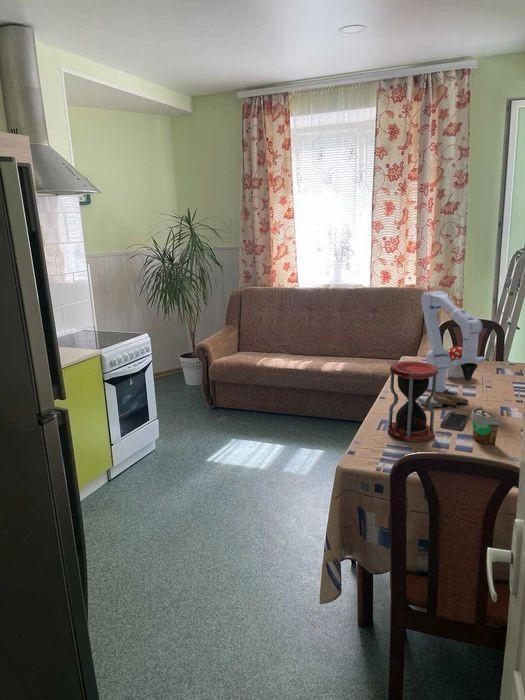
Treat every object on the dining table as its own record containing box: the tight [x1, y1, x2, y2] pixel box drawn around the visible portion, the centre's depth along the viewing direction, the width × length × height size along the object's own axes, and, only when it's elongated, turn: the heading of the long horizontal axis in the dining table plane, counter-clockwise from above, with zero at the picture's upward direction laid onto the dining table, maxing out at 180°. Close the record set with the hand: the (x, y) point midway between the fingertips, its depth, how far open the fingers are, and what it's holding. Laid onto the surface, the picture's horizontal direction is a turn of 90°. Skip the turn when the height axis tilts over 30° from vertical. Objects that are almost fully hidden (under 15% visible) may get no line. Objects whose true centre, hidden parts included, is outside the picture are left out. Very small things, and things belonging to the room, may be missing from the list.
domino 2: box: [418, 397, 443, 408], centre depth 212 cm, size 2×5×8 cm
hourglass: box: [387, 360, 438, 443], centre depth 183 cm, size 16×16×25 cm
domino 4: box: [444, 393, 469, 405], centre depth 214 cm, size 2×5×8 cm
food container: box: [470, 406, 500, 446], centre depth 178 cm, size 12×6×10 cm, turn 5°
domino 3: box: [432, 395, 458, 406], centre depth 213 cm, size 2×5×8 cm
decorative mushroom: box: [446, 346, 464, 380], centre depth 248 cm, size 14×14×15 cm
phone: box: [439, 412, 469, 432], centre depth 195 cm, size 8×1×15 cm
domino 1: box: [418, 403, 435, 411], centre depth 210 cm, size 2×5×8 cm
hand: (467, 380), depth 214 cm, fingers closed
